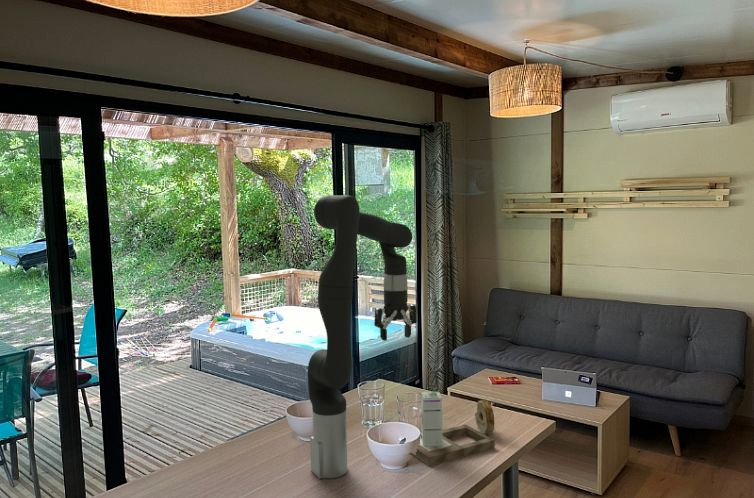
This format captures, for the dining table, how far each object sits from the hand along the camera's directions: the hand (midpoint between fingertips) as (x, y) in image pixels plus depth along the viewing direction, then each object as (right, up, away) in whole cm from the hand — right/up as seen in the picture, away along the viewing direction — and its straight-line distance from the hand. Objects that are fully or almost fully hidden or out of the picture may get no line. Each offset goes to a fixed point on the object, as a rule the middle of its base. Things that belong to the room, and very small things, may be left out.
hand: (395, 338), depth 180 cm
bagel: (+29, -30, +1) cm, 41 cm away
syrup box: (+10, -29, -14) cm, 33 cm away
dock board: (+15, -31, -12) cm, 36 cm away
